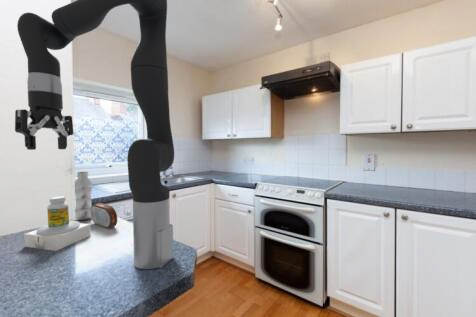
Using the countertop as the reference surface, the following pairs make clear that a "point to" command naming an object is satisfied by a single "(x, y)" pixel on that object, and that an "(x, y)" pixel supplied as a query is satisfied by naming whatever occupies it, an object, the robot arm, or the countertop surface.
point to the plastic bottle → (83, 196)
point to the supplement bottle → (58, 213)
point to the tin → (104, 215)
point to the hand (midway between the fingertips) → (47, 149)
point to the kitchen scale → (57, 236)
